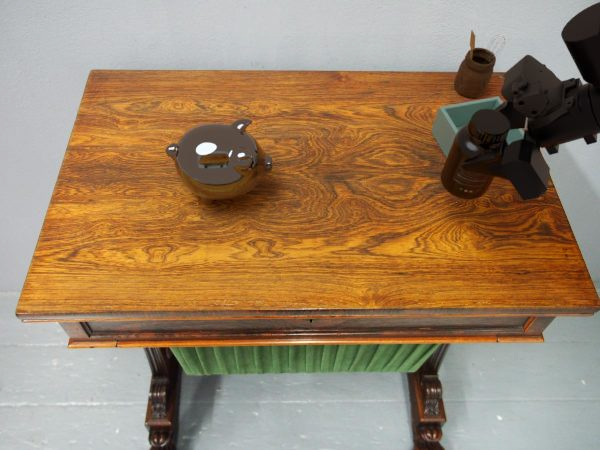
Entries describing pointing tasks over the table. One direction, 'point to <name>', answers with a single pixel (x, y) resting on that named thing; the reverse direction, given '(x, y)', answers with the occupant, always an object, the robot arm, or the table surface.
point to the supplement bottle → (473, 153)
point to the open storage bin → (463, 121)
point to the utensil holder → (475, 70)
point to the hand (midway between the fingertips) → (467, 148)
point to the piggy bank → (220, 160)
